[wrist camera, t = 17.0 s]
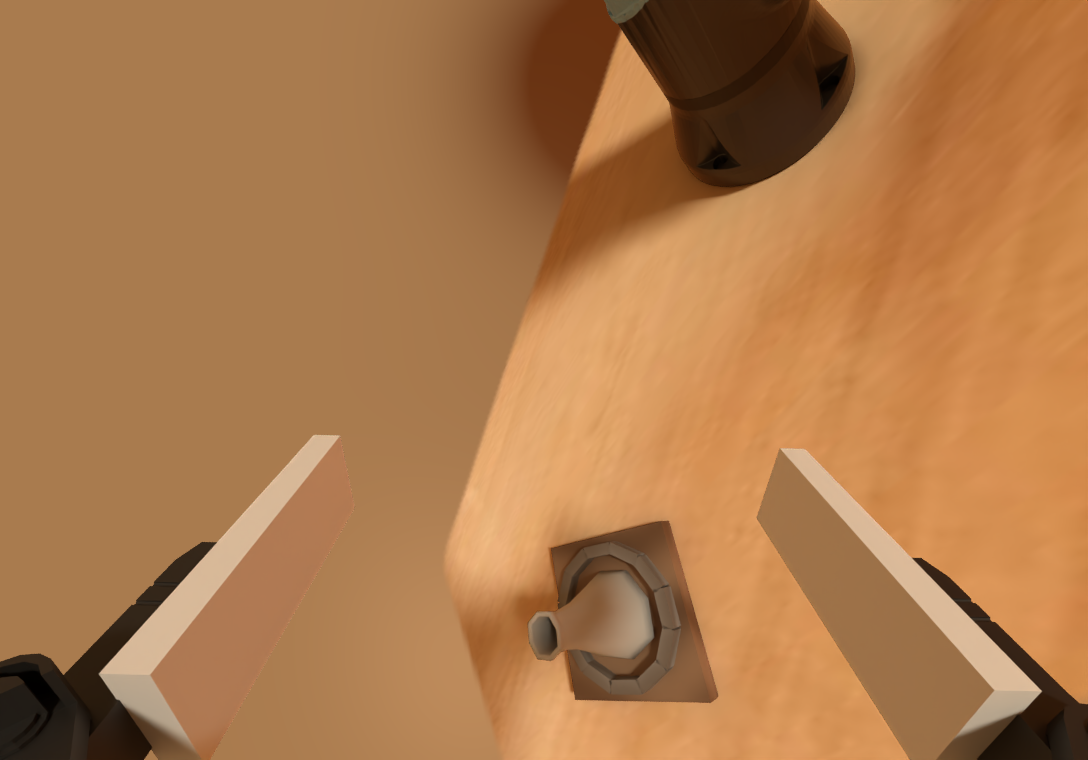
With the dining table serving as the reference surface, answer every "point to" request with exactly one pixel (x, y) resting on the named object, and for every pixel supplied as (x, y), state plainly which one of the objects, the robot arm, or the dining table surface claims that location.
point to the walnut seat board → (677, 647)
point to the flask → (596, 620)
